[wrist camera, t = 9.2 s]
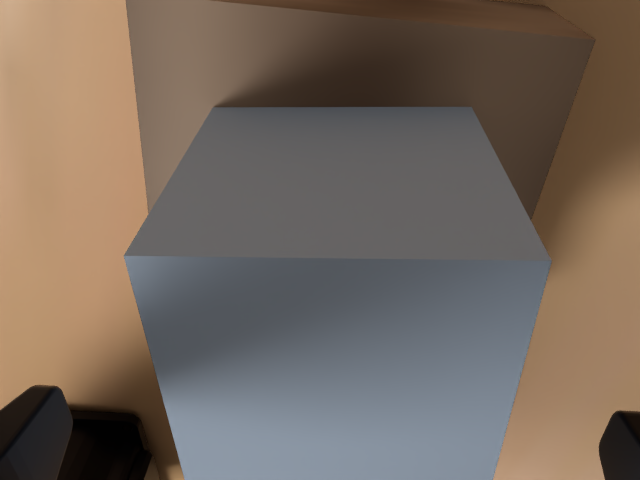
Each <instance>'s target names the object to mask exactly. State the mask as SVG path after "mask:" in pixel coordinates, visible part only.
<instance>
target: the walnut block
mask: <svg viewBox="0 0 640 480" xmlns="http://www.w3.org/2000/svg"><path fill="white" fill-rule="evenodd" d="M126 8H127V17H128V27H129V36H130V45H131V54H132V64H133V73H134V82H135V92H136V101H137V110H138V119H139V129H140V138H141V147H142V157H143V166H144V175H145V184H146V194H147V203H148V212H149V213H150V211H151V210H152V208H153V206H154V205H155V203H156V201H157V200H158V198H159V196H160V195H161V193H162V191H163V190H164V188H165V186H166V185H167V183H168V181H169V180H170V178H171V176H172V175H173V173H174V171H175V170H176V168H177V166H178V165H179V163H180V161H181V160H182V158H183V156H184V155H185V153H186V151H187V150H188V148H189V146H190V145H191V143H192V141H193V140H194V138H195V136H196V135H197V133H198V131H199V130H200V128H201V126H202V124H203V123H204V121H205V119H206V118H207V116H208V114H209V113H210V111H211V109H212V108H213V107H472V109H473V111H474V112H475V114H476V116H477V118H478V120H479V122H480V124H481V126H482V128H483V130H484V132H485V134H486V136H487V137H488V139H489V141H490V143H491V145H492V147H493V149H494V151H495V153H496V155H497V157H498V159H499V161H500V162H501V164H502V166H503V168H504V170H505V172H506V174H507V176H508V178H509V180H510V182H511V184H512V186H513V187H514V189H515V191H516V193H517V195H518V197H519V199H520V201H521V203H522V205H523V207H524V209H525V211H526V212H527V214H528V216H529V218H530V220H531V218H532V216H533V213H534V210H535V207H536V204H537V202H538V199H539V196H540V193H541V190H542V188H543V185H544V182H545V179H546V177H547V174H548V171H549V168H550V165H551V163H552V160H553V157H554V154H555V151H556V149H557V146H558V143H559V140H560V137H561V135H562V132H563V129H564V126H565V123H566V121H567V118H568V115H569V112H570V109H571V107H572V104H573V101H574V98H575V95H576V93H577V90H578V87H579V84H580V81H581V79H582V76H583V73H584V70H585V67H586V65H587V62H588V59H589V56H590V53H591V51H592V48H593V45H594V42H595V39H594V38H592V37H591V36H589V35H588V34H586V33H585V32H583V31H582V30H580V29H579V28H577V27H576V26H574V25H573V24H571V23H570V22H568V21H567V20H565V19H564V18H563V17H561V16H560V15H558V14H557V13H555V12H554V11H552V10H551V9H549V8H548V7H546V6H539V5H530V4H520V3H510V2H500V1H490V0H126Z"/></svg>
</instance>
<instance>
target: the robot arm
mask: <svg viewBox="0 0 640 480" xmlns="http://www.w3.org/2000/svg"><path fill="white" fill-rule="evenodd" d="M599 456H600V461H601V465H602V469H603V473H604V477H605V480H640V412H638V411H616V412H615V413H613V415H612V417H611V419H610V421H609V423H608V425H607V427H606V429H605V431H604V434H603V436H602V438H601V440H600V444H599ZM0 480H160V478H159V474H158V471H157V467H156V464H155V460H154V456H153V454H152V453H151V452H150V450H149V448H148V444H147V441H146V437H145V434H144V430H143V427H142V423H141V420H140V419H139V418H138V417H137V416H135V415H133V414H127V413H104V412H82V411H70V410H69V407H68V405H67V402H66V400H65V397H64V395H63V392H62V390H61V389H60V388H59V387H58V386H48V385H35V386H32V387H30V388H29V389H27V390H26V391H25V392H23V393H22V394H21V395H19V396H18V397H17V398H15V399H14V400H13V401H12V402H10V403H9V404H8V405H6V406H5V407H4V408H2V409H1V410H0Z"/></svg>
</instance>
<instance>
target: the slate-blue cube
mask: <svg viewBox="0 0 640 480" xmlns="http://www.w3.org/2000/svg"><path fill="white" fill-rule="evenodd" d="M124 259H125V262H126V266H127V270H128V273H129V277H130V281H131V284H132V288H133V292H134V295H135V299H136V303H137V306H138V310H139V314H140V317H141V321H142V325H143V328H144V332H145V336H146V339H147V343H148V347H149V350H150V354H151V358H152V361H153V365H154V369H155V372H156V376H157V380H158V383H159V387H160V391H161V394H162V398H163V402H164V405H165V409H166V413H167V416H168V420H169V424H170V427H171V431H172V435H173V438H174V442H175V446H176V449H177V453H178V457H179V460H180V464H181V468H182V472H183V475H184V479H185V480H493V477H494V473H495V470H496V466H497V462H498V459H499V455H500V451H501V447H502V444H503V440H504V436H505V433H506V429H507V425H508V421H509V418H510V414H511V410H512V407H513V403H514V399H515V395H516V392H517V388H518V384H519V381H520V377H521V373H522V369H523V366H524V362H525V358H526V355H527V351H528V347H529V343H530V340H531V336H532V332H533V329H534V325H535V321H536V317H537V314H538V310H539V306H540V303H541V299H542V295H543V291H544V288H545V284H546V280H547V277H548V273H549V269H550V265H551V262H552V260H551V259H550V257H549V255H548V253H547V251H546V249H545V247H544V245H543V243H542V241H541V239H540V237H539V235H538V234H537V232H536V230H535V228H534V226H533V224H532V222H531V220H530V218H529V216H528V214H527V212H526V211H525V209H524V207H523V205H522V203H521V201H520V199H519V197H518V195H517V193H516V191H515V189H514V187H513V186H512V184H511V182H510V180H509V178H508V176H507V174H506V172H505V170H504V168H503V166H502V164H501V162H500V161H499V159H498V157H497V155H496V153H495V151H494V149H493V147H492V145H491V143H490V141H489V139H488V137H487V136H486V134H485V132H484V130H483V128H482V126H481V124H480V122H479V120H478V118H477V116H476V114H475V112H474V111H473V109H472V107H213V108H212V109H211V111H210V113H209V114H208V116H207V118H206V119H205V121H204V123H203V124H202V126H201V128H200V130H199V131H198V133H197V135H196V136H195V138H194V140H193V141H192V143H191V145H190V146H189V148H188V150H187V151H186V153H185V155H184V156H183V158H182V160H181V161H180V163H179V165H178V166H177V168H176V170H175V171H174V173H173V175H172V176H171V178H170V180H169V181H168V183H167V185H166V186H165V188H164V190H163V191H162V193H161V195H160V196H159V198H158V200H157V201H156V203H155V205H154V206H153V208H152V210H151V211H150V213H149V215H148V216H147V218H146V220H145V221H144V223H143V225H142V226H141V228H140V230H139V231H138V233H137V235H136V236H135V238H134V240H133V241H132V243H131V245H130V246H129V248H128V250H127V251H126V253H125V255H124Z"/></svg>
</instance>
